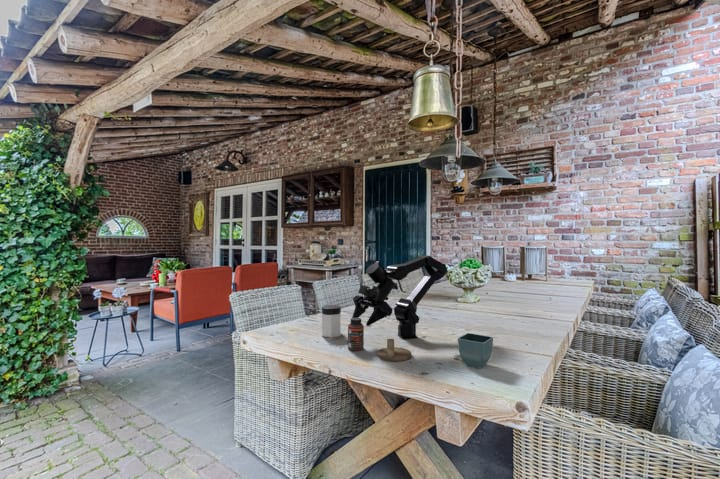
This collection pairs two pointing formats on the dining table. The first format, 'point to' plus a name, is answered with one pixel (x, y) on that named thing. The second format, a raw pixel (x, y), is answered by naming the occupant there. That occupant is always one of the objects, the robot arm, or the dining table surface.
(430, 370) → the dining table surface
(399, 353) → the flange plate
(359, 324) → the supplement bottle
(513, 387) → the dining table surface
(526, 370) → the dining table surface
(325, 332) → the jar
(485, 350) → the flower pot
